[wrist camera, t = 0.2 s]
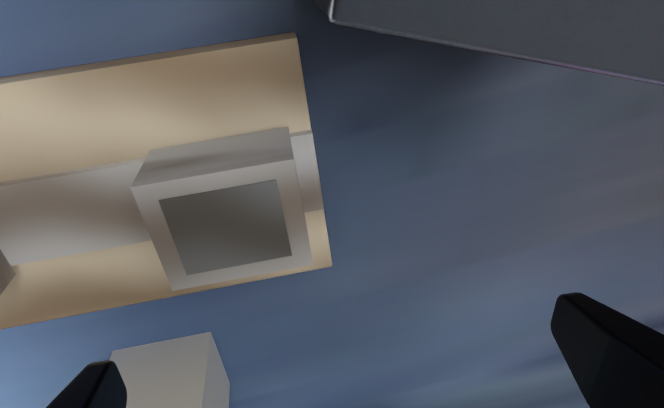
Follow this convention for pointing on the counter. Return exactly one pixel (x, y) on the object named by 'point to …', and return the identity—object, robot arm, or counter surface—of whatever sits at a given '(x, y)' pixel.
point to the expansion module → (174, 374)
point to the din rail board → (135, 130)
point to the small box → (526, 30)
